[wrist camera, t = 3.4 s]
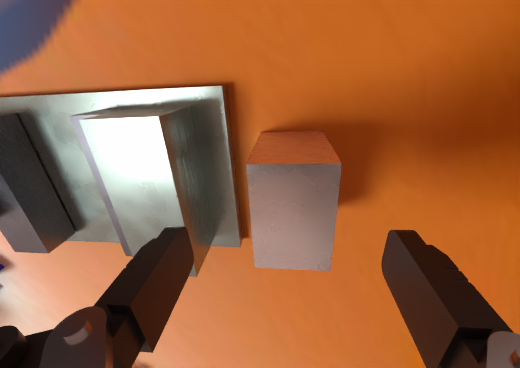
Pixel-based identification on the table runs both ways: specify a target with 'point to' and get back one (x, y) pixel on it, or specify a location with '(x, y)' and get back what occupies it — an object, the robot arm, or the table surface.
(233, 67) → the table surface
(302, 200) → the steel block
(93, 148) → the vise
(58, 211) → the free jaw
